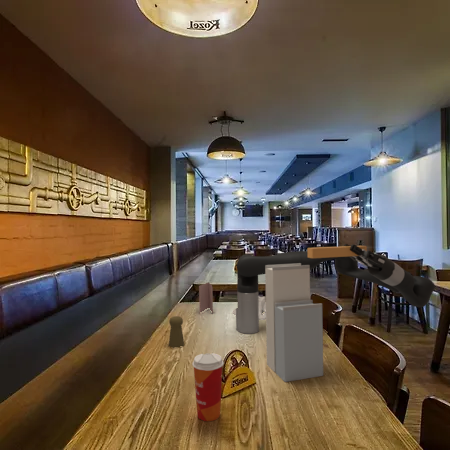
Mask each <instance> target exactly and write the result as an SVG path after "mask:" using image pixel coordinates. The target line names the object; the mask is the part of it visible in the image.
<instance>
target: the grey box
mask: <svg viewBox="0 0 450 450" xmlns="http://www.w3.org/2000/svg"><path fill="white" fill-rule="evenodd" d="M323 329H324V328H323V303H313V299H310V300H303V301H292V302H281V303H275V342H276V372H275V374H276V375H277V376H278V377H279V378H280V380H282V381H283V382H284V383H286V382H294V381H299V380H305V379H310V378H312V379H313V378H317V377H323V376H324V344H323V343H324V339H323V337H324V336H323V333H324V332H323Z"/></svg>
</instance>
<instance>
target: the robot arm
mask: <svg viewBox="0 0 450 450" xmlns="http://www.w3.org/2000/svg"><path fill="white" fill-rule="evenodd" d="M344 246H351V248H350V251H352V252H354V253H355V254H357V255H359V256H347V257H328V258H308V252H307V250H302V251H301V250H300V251H299V250H298V251H287V252H282V253H277V254H274V255H269V256H267V255H266V256H255V255H253V254H251V253H250V254H249V253H247V254H242V255H241V256H240V257H239V258H238V259H237V262H236V269H237V279H236V280H237V281H236V282H237V284H236V285H237V286H236V287H237V288H236V291H237V307H236V308H235V309H236V316H235V330H236V331H238V332H239V333H242V334H257V333H258V332H260V320H259V297H258V296H259V276H261V275H265V265H279V264H297V263H301V266H302V265H310V271H311V270H313V269H314V268H316V267H317V266H319V265H320V264H321V263H323V262H326V261H331V260H334V267H335V268H334V269H335V270H336V272H338V273H339V274H342V275H345V276H347V277H351V278H354V279H356V280H357V279H358V280H362V281H365V282H368V283H369V282H370V283H373V284H376V285H378V286H380V287H383V288H385V289H388V290H390V291H392V292H395V293H400V294H401V295H402V297H403V299H404V300H406V302H407V303H408V304H410V305H411V306H413V307H416V308H423V307H425V306H427V304H428V303H429V300H430V298H431V296H432V295H433V293H434V290H435V289H436V286H435V283H434V281H433V280H431V279H429V278H427V277H424V276H419V275H418V276H417V275H412V274H411V273H410V272H409V271H407V270H405V269H404V268H402V267H401V266H400V265H398V263H396V262H394V261H393V260H392V259H389V258H388V257H387V256H385V255H382V254H377V253H375V252H372V251H371V250H367V251H366V250H364V249H361V248H359V247H357V246H358V245H357V244H351V245H350V244H349V243H345V244H344ZM358 263H360V264H361V265H363V266H365V267H367V269H361V268H360V267H359V264H358Z"/></svg>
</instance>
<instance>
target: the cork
mask: <svg viewBox="0 0 450 450" xmlns="http://www.w3.org/2000/svg"><path fill="white" fill-rule="evenodd" d="M168 322H169V325H170V331H169V340H168V341H169V342H168V347H169V346H171V347H180V346H183V345H184V346H185V340H184V332H183V327H182V325H183V323H184V320H183V317H181V316H177V315H176V316H172V317H170V318H169V321H168ZM184 346H183V347H184ZM171 347H170V348H171ZM180 348H181V347H180Z"/></svg>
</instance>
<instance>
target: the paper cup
mask: <svg viewBox="0 0 450 450" xmlns="http://www.w3.org/2000/svg"><path fill="white" fill-rule="evenodd" d="M223 366H224V361H223V358H222V356H221V355H220V354H217V353H214V352H211V353H207V352H206V353H205V354H204V353H200V354H197V355H196V356H194V358H193V361H192V367H193V373H194V374H193V375H194V388H195V390H194V392H195V402H196V413H197V414H196V415H197V418H198V419H199V420H200V419H201V421H202V420H203V422H213V421H216V420H218V419H219V417H220V416H221V408H222V405H221V404H222V403H221V402H222V381H223V380H222V379H223Z"/></svg>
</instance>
